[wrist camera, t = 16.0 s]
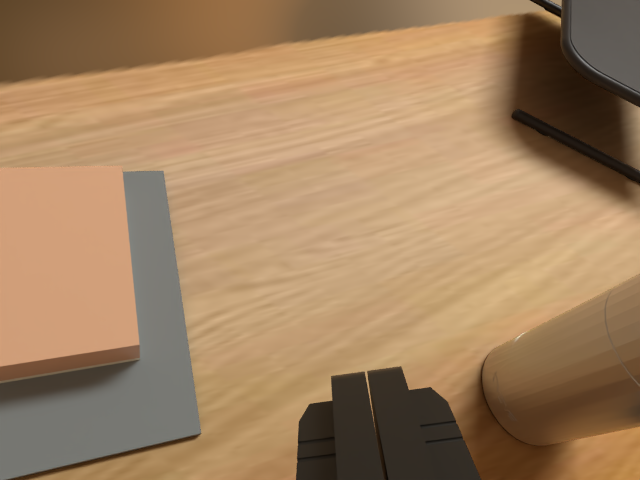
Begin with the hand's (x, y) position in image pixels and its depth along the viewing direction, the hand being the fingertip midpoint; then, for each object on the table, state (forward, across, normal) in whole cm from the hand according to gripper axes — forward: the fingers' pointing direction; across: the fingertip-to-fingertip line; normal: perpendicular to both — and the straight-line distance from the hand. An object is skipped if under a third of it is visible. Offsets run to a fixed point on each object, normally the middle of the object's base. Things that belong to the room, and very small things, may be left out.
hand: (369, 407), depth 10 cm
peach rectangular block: (+19, +19, +8) cm, 28 cm away
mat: (+24, +21, +5) cm, 32 cm away
